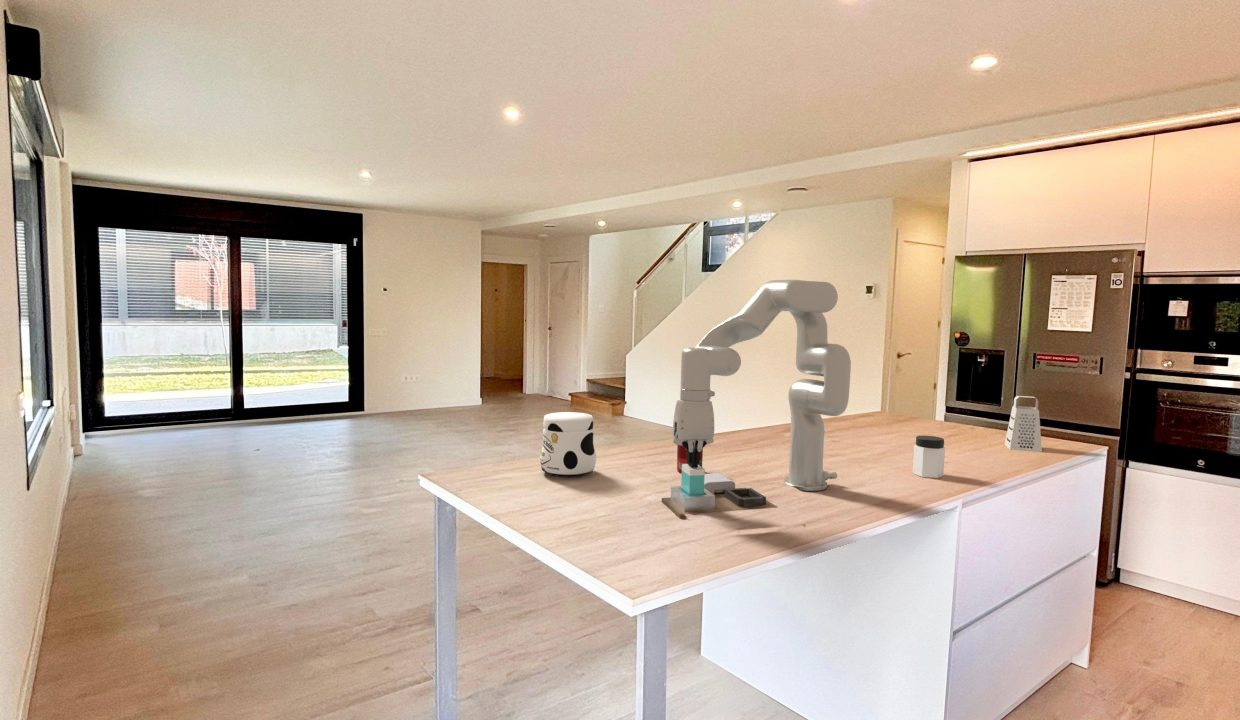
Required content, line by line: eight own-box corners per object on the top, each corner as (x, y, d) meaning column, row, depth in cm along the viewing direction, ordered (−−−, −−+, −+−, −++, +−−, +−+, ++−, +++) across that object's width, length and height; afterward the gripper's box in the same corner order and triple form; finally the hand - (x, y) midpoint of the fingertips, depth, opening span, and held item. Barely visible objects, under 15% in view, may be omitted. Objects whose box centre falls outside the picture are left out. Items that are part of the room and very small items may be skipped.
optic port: (699, 497, 175) (699, 485, 174) (714, 509, 165) (715, 495, 165) (670, 499, 172) (670, 486, 172) (684, 511, 163) (684, 497, 162)
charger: (713, 483, 194) (734, 497, 180) (684, 484, 192) (703, 499, 177) (713, 467, 194) (735, 480, 179) (684, 469, 191) (704, 482, 177)
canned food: (703, 475, 202) (704, 440, 201) (677, 474, 202) (678, 440, 201) (700, 469, 210) (701, 435, 209) (675, 468, 210) (676, 435, 209)
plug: (695, 500, 172) (696, 463, 171) (703, 507, 166) (704, 469, 165) (680, 501, 171) (681, 464, 170) (688, 508, 165) (689, 469, 164)
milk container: (528, 474, 199) (528, 416, 198) (564, 463, 214) (564, 409, 212) (572, 484, 190) (572, 423, 188) (606, 472, 204) (607, 415, 202)
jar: (948, 478, 204) (951, 440, 203) (926, 479, 202) (928, 441, 201) (929, 470, 212) (931, 434, 211) (907, 471, 211) (909, 435, 210)
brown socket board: (753, 495, 181) (753, 485, 181) (778, 511, 168) (778, 499, 167) (661, 501, 174) (661, 490, 174) (679, 518, 160) (680, 506, 160)
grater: (1041, 452, 244) (1045, 399, 242) (1009, 449, 248) (1013, 397, 246) (1035, 446, 254) (1038, 396, 252) (1004, 444, 258) (1007, 394, 256)
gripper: (716, 393, 172) (713, 461, 173) (662, 394, 168) (660, 464, 169) (728, 397, 165) (725, 468, 166) (672, 398, 161) (670, 471, 162)
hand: (692, 466), depth 168 cm, fingers closed
